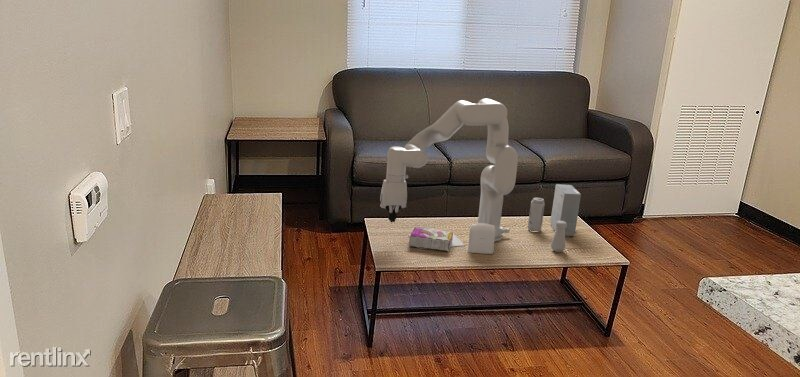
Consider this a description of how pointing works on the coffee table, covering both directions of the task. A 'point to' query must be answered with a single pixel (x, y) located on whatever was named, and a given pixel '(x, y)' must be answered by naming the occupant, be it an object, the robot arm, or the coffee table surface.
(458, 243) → the mat
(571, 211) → the hard drive box
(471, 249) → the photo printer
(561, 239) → the salt shaker
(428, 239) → the candy bar box
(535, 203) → the energy drink can
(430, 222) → the coffee table surface
